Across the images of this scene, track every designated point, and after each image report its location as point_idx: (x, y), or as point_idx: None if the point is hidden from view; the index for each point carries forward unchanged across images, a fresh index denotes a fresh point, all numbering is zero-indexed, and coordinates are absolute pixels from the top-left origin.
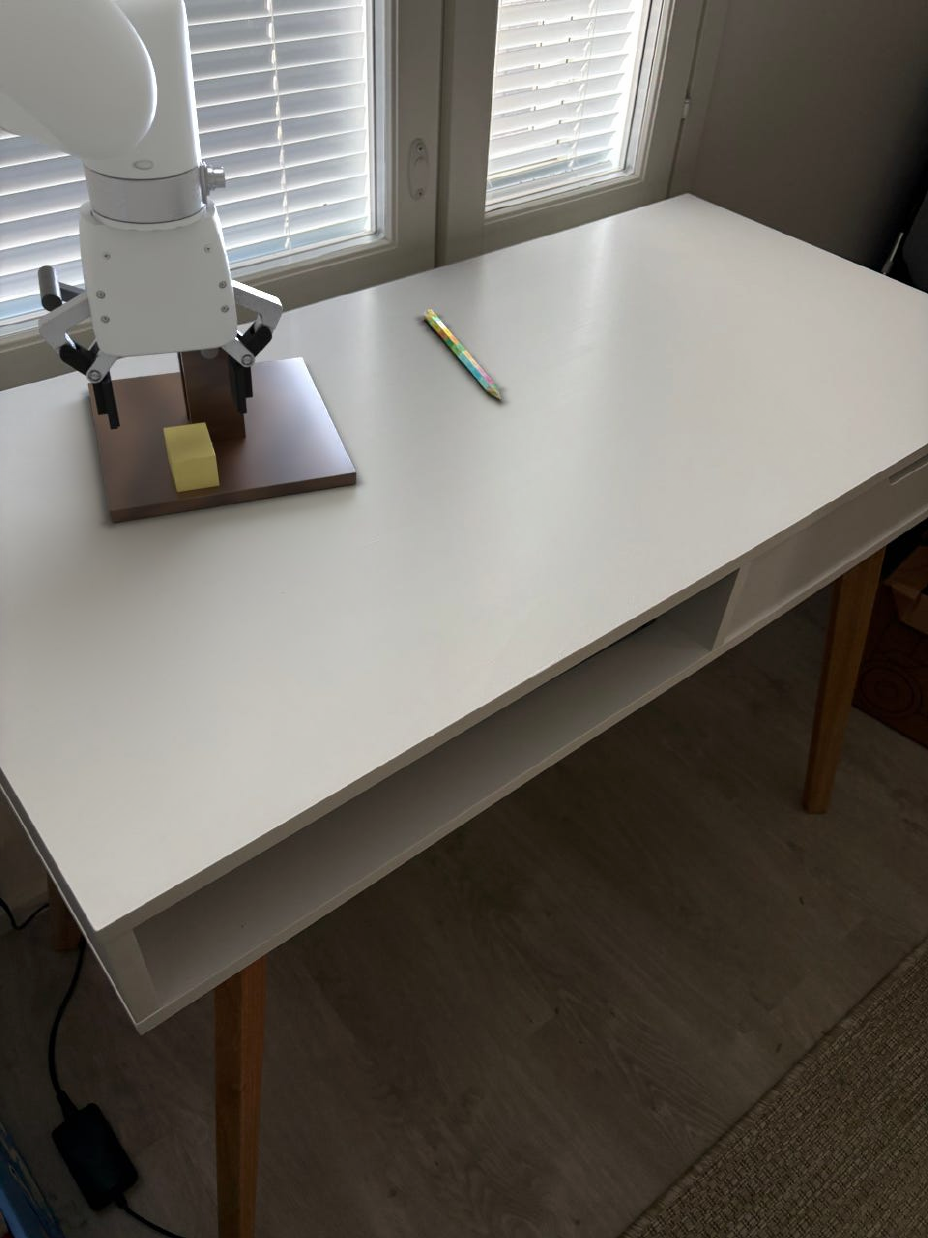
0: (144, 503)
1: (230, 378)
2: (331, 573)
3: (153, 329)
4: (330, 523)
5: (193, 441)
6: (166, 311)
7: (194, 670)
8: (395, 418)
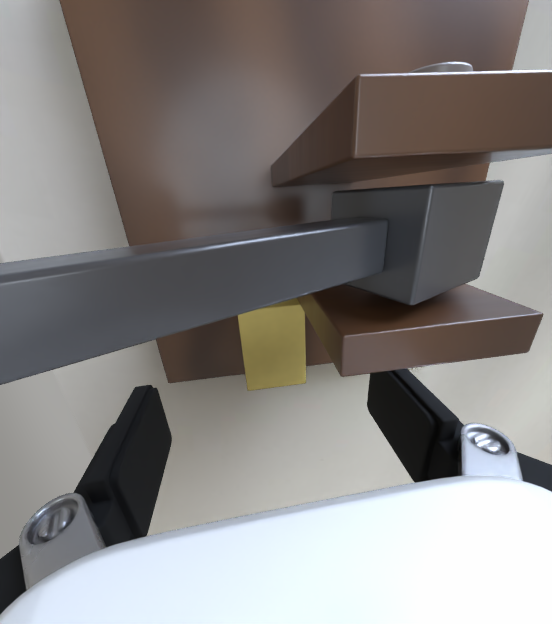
0: (208, 376)
1: (394, 393)
2: (363, 445)
3: None
4: None
5: (281, 352)
6: None
7: (248, 512)
8: (546, 213)
